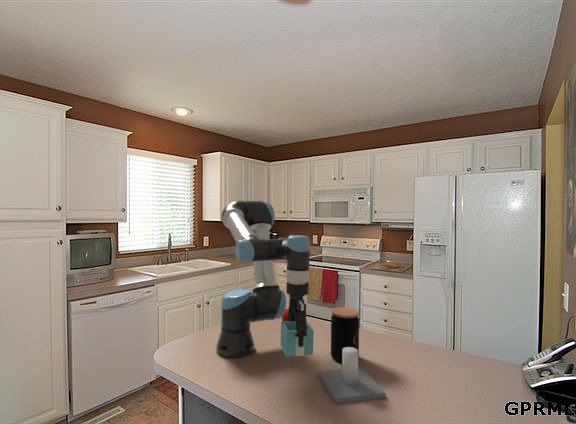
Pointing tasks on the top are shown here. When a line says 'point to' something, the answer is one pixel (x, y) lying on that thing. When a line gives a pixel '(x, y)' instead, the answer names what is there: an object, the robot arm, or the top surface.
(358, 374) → the grey square base plate
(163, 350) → the top surface
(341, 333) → the coffee jar
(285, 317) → the apple
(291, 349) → the teal storage bin
